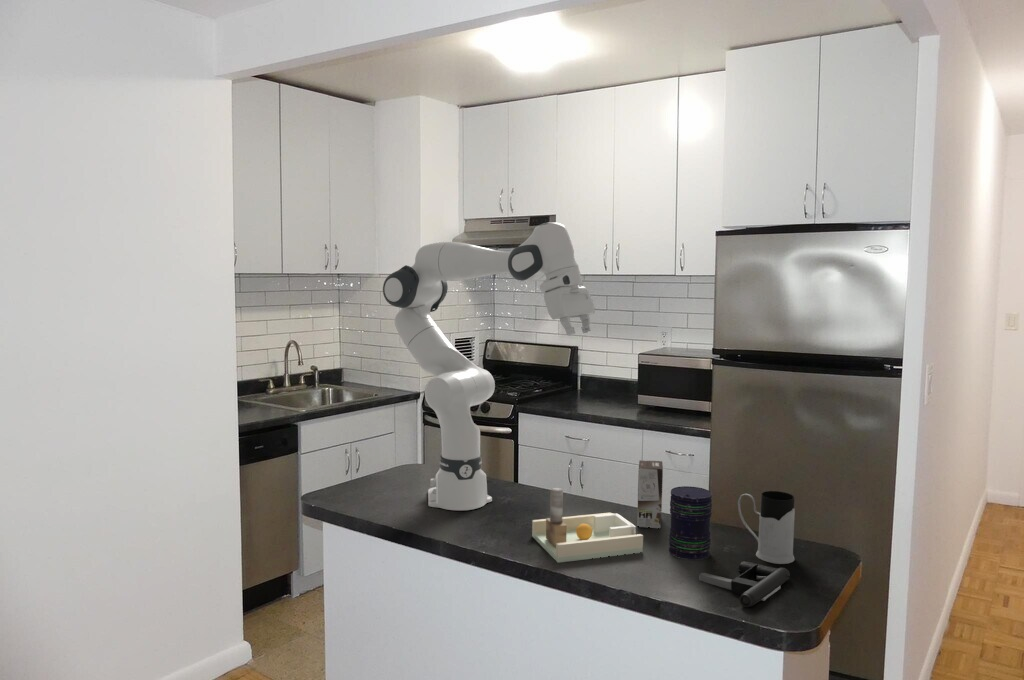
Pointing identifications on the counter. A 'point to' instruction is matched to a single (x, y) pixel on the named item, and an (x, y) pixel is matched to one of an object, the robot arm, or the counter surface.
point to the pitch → (606, 539)
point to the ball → (584, 531)
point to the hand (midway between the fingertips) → (579, 333)
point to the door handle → (751, 582)
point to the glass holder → (774, 526)
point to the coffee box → (650, 494)
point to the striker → (556, 518)
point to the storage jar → (690, 522)
